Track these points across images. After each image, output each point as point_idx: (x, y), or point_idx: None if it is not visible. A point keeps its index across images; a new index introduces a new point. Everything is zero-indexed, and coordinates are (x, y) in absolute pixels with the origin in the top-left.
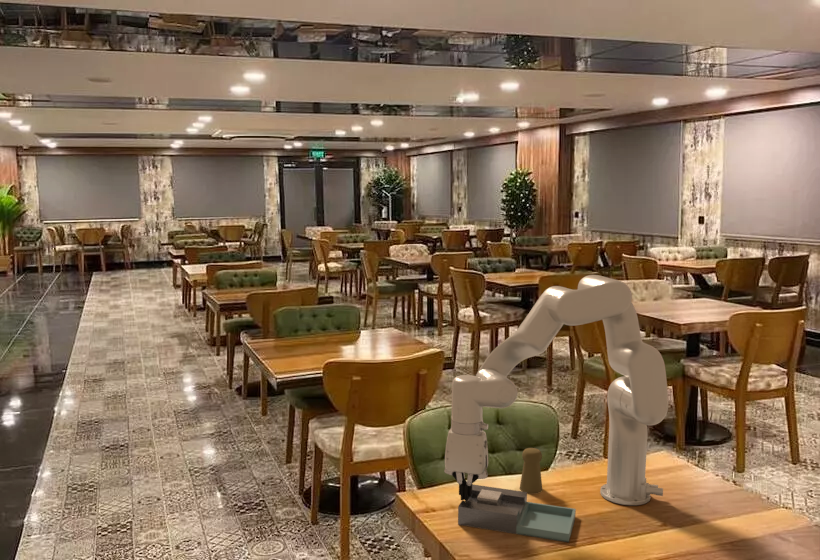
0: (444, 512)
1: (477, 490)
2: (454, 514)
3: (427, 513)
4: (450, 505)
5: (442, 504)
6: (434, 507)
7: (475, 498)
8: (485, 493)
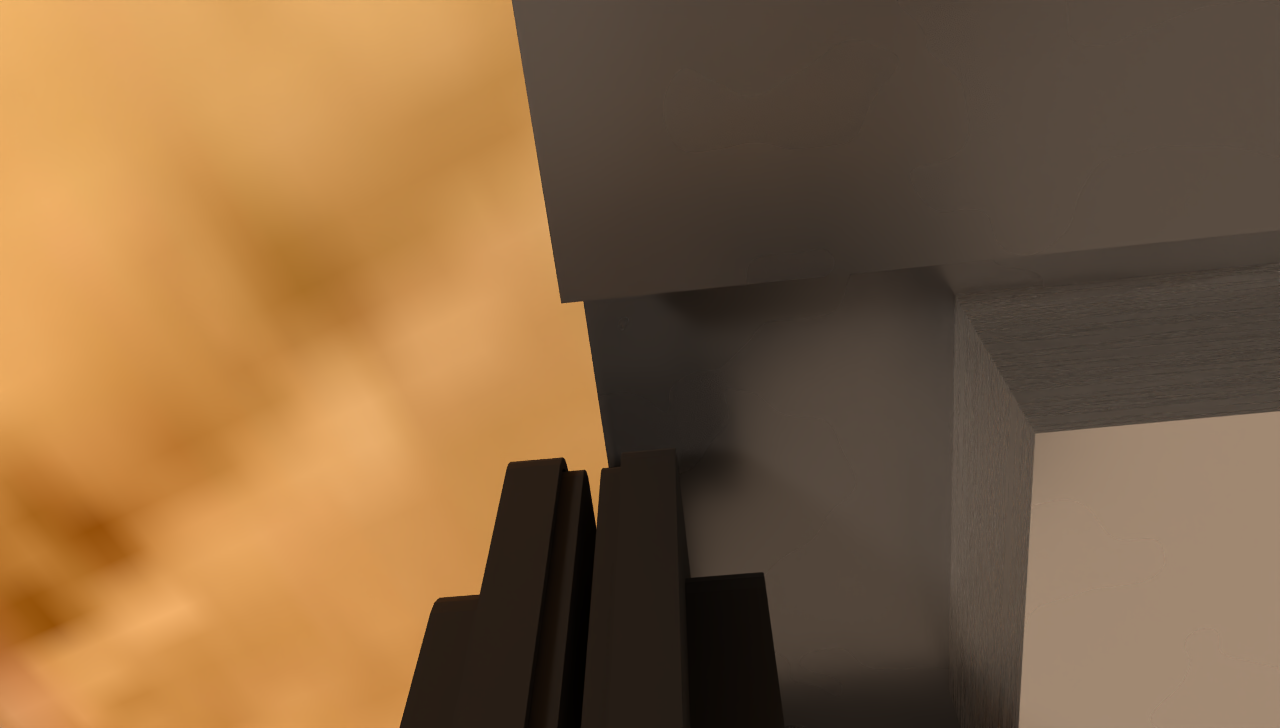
0: (298, 535)
1: (824, 252)
2: (484, 532)
3: (87, 663)
4: (230, 241)
5: (71, 268)
6: (33, 442)
7: (797, 339)
8: (1195, 643)
